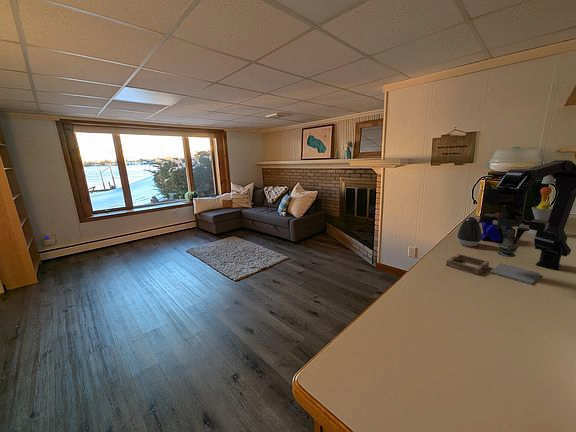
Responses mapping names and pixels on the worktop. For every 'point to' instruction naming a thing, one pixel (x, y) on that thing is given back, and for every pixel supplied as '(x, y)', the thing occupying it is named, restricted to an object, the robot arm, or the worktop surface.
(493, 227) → the alarm clock
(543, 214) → the lava lamp
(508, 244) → the salt shaker
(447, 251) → the worktop surface
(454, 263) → the walnut holder
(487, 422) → the worktop surface
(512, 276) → the slate coaster
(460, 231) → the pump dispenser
